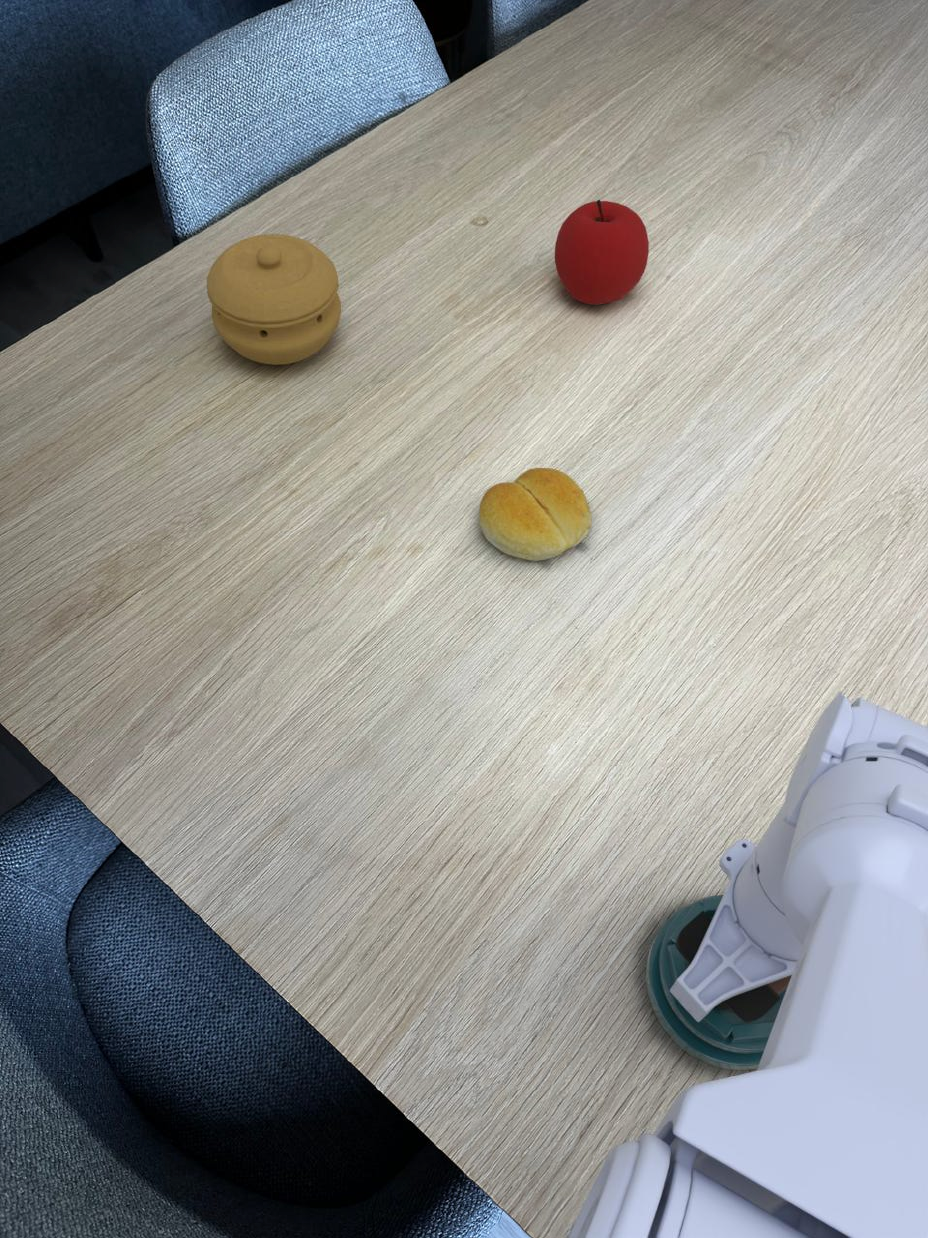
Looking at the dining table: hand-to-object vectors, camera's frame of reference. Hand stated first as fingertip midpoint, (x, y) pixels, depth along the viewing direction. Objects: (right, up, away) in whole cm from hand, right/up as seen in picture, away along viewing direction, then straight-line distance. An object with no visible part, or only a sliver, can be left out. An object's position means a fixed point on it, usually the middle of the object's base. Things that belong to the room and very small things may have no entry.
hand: (744, 960), depth 60 cm
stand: (0, -3, +4) cm, 5 cm away
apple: (-3, +53, +43) cm, 68 cm away
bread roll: (-11, +28, +25) cm, 39 cm away
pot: (-34, +46, +38) cm, 68 cm away
